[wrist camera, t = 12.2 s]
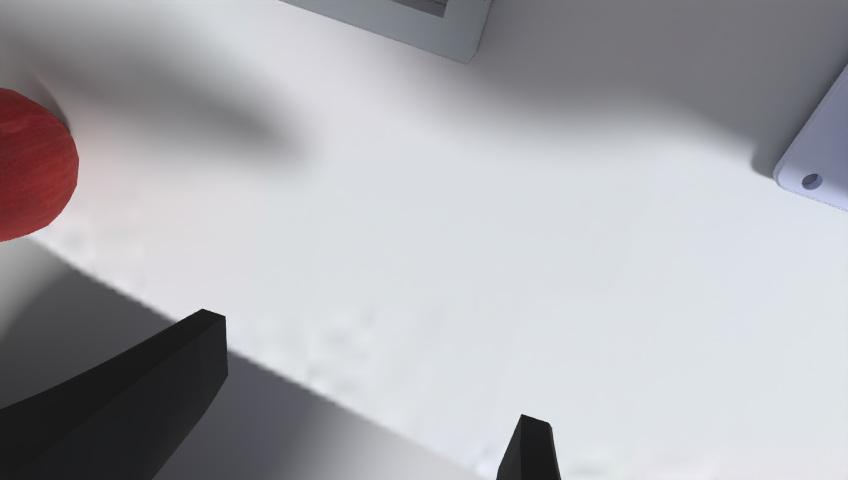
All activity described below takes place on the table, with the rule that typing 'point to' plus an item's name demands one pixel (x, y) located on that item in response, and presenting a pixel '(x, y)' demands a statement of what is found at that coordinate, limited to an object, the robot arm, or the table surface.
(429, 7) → the collar
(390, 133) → the table surface
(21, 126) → the onion
